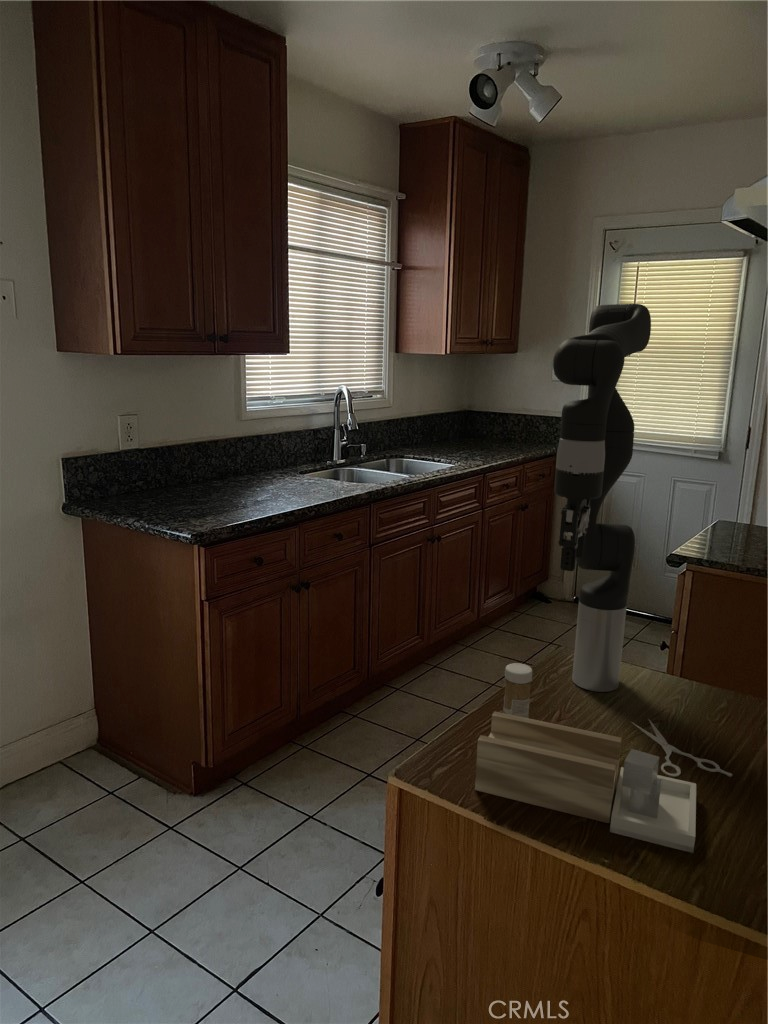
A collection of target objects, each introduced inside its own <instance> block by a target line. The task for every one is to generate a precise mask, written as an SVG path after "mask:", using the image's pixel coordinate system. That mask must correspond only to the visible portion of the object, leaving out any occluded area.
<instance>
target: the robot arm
mask: <svg viewBox="0 0 768 1024" xmlns="http://www.w3.org/2000/svg"><path fill="white" fill-rule="evenodd" d="M588 324H589V326H588V333H587V334H585V335H578V336H572V337H569V338H567V339H565V340H564V341H562V343H560V344H559V346H558V347H557V348H556V350H555V352H554V356H553V361H552V368H553V369H552V370H553V372H554V375H555V377H556V378H557V380H558V381H560V382H561V383H563V384H565V385H569V386H586V387H588V388H587V389H588V391H587V398H584V399H576V400H571V401H567V402H566V403H565V404H564V405H563V407H562V409H561V416H560V420H561V421H560V432H559V441H558V446H557V451H556V462H555V463H556V464H555V472H554V473H555V476H554V485H553V487H554V489H553V492H554V494H555V495H556V496H558V497H561V498H562V497H563V498H565V499H567V500H566V501H567V502H566V504H565V506H563V507H562V510H560V511H561V512H560V514H561V520H560V530H559V540H558V546H559V547H561V557H560V569H561V570H562V571H564V572H565V571H567V572H573V571H575V569H576V564H577V566H578V567H579V569H581V570H589V571H604V572H605V571H606V572H608V574H606V575H605V576H603V577H601V578H599V579H597V580H593V581H589V582H587V583H584V584H583V585H582V586H581V587H580V589H579V593H578V594H579V595H578V608H577V621H576V629H575V630H576V631H575V642H574V654H573V665H572V677H571V679H572V682H573V683H574V685H576V686H577V687H579V688H582V689H585V690H587V691H591V692H599V693H600V692H601V693H602V692H604V693H605V692H612V691H615V690H617V689H618V688H619V685H620V676H621V666H622V656H623V648H624V646H623V644H624V637H625V626H626V615H627V608H628V607H627V605H628V597H629V592H630V591H629V589H630V583H631V576H632V575H631V574H632V569H633V564H634V556H635V551H636V550H635V549H636V539H635V533H634V532H635V531H634V530H633V528H632V527H631V526H630V525H627V524H616V523H615V524H614V523H598V522H597V520H598V515H599V512H600V510H601V506H602V504H603V502H604V500H605V498H607V495H608V493H609V492H610V490H611V489H612V487H613V486H614V485H615V484H616V483H617V481H618V480H619V479H620V477H621V476H622V475H623V474H624V471H625V470H626V469H627V468H628V466H629V464H630V462H631V460H632V457H633V452H634V440H635V438H634V437H635V421H634V419H633V416H632V414H631V412H630V410H629V408H628V406H627V405H626V403H625V402H624V400H623V398H622V396H621V394H619V392H618V390H617V388H616V387H617V384H618V382H619V379H620V377H621V374H622V372H623V369H624V365H625V358H626V357H628V356H630V355H633V354H635V353H640V352H642V351H644V350H645V349H646V348H647V346H648V344H649V341H650V339H651V338H650V337H651V333H652V332H651V331H652V319H651V312H650V310H649V308H648V307H646V306H645V305H643V304H640V303H618V304H617V303H616V304H614V303H613V304H600V305H596V306H595V307H594V308H593V309H592V311H591V313H590V318H589V323H588ZM568 536H570V538H568V539H567V537H568Z"/></svg>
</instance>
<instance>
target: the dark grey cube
mask: <svg viewBox="0 0 768 1024" xmlns="http://www.w3.org/2000/svg"><path fill="white" fill-rule="evenodd" d="M661 782H662V779H657V782H656V784H655V786H654V788H653V790H652V792H651V794H647V793H644V792H641V791H637V790H634V789H631V790H630V800H629V809H628V811H629V812H633V813H637V814H641V815H645V816H649V817H653V818H657V815H658V807H659V799H660V790H661Z"/></svg>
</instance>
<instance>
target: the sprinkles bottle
mask: <svg viewBox="0 0 768 1024" xmlns="http://www.w3.org/2000/svg"><path fill="white" fill-rule="evenodd" d="M504 678H505V685H504V686H505V687H504V695H503V709H502V713H505V714H510V715H515V716H519V717H524V718H529V710H530V702H531V701H530V700H531V693H530V692H531V683H532V680H533V669H532V668H531V666H529V665H527V664H524V663H519V662H513V663H509V664H507V665H506V666H505V668H504Z"/></svg>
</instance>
